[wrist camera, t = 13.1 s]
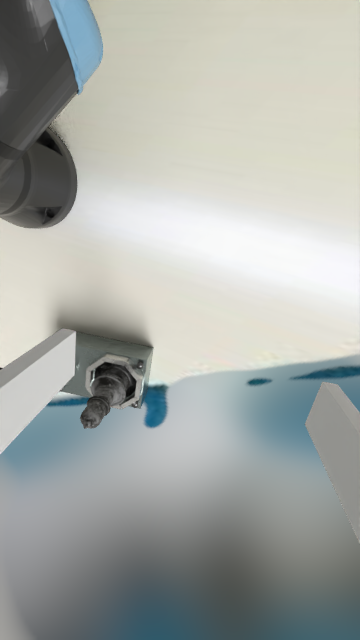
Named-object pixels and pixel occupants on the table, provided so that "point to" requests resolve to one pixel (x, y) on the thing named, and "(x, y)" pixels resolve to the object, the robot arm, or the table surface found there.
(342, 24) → the table surface
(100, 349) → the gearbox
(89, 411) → the dark grey tapered piece
